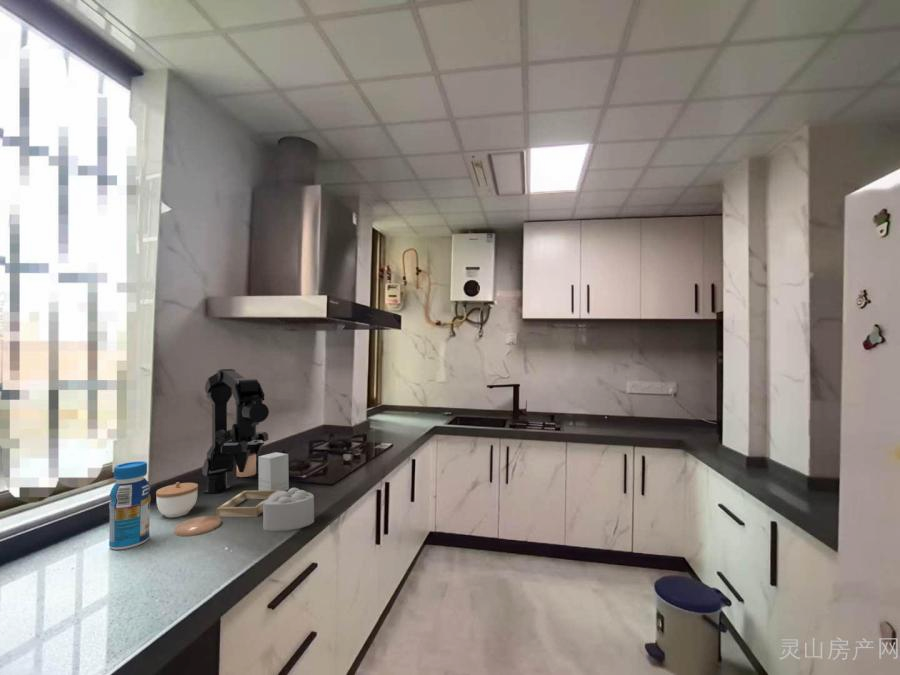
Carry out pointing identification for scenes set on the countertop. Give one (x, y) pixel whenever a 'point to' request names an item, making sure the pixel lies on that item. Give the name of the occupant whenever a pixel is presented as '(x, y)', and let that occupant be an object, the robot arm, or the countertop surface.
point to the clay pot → (248, 467)
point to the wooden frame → (232, 511)
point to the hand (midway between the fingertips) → (246, 469)
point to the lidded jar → (176, 499)
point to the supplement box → (273, 472)
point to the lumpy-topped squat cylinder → (288, 510)
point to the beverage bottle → (129, 506)
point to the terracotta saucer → (197, 525)
